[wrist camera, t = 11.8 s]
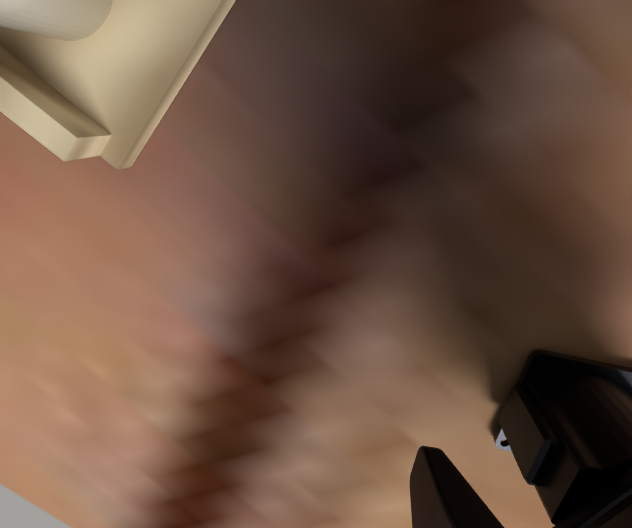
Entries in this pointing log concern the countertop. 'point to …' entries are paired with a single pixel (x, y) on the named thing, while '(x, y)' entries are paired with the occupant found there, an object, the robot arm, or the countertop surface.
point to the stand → (105, 77)
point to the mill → (55, 17)
